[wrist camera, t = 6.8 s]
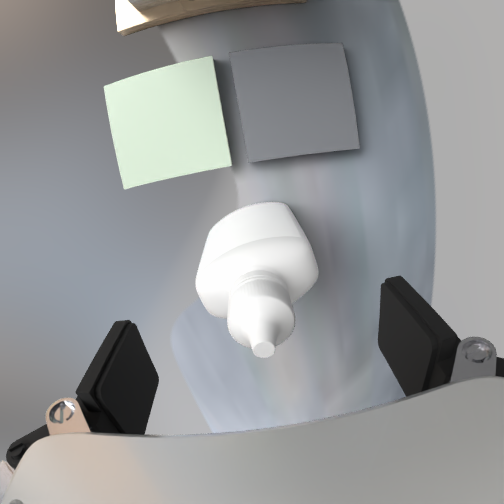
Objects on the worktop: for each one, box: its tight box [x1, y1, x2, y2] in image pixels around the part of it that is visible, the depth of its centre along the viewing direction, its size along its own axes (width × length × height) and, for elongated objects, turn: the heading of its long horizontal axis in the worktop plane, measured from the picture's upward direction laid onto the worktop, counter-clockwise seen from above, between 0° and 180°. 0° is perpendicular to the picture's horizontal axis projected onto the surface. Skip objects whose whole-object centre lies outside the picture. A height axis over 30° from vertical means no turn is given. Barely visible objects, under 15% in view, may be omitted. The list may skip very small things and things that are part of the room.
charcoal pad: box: [229, 43, 360, 163], centre depth 17 cm, size 7×7×1 cm
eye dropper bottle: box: [196, 202, 319, 358], centre depth 15 cm, size 4×6×12 cm
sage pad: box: [104, 56, 232, 189], centre depth 17 cm, size 7×7×1 cm
